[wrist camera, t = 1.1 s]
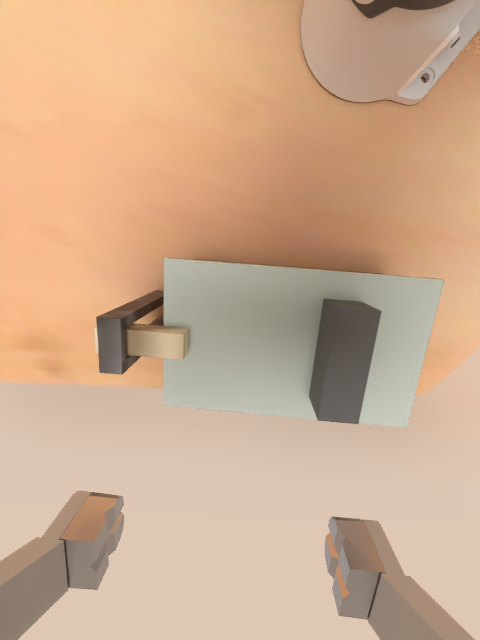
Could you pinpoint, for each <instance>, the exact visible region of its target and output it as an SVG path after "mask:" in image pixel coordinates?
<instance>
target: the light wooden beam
mask: <svg viewBox="0 0 480 640" xmlns="http://www.w3.org/2000/svg"><path fill="white" fill-rule="evenodd" d="M94 334H95V351H96V352H98V335H97V326H95V327H94ZM188 335H189V328H181V327H169V326H157V325H145V324H133V323H132V324H131V325H129V326H127V327H126V346H127V355H133V356H144V357H156V358H168V359H179V360H183V359H184V358H185V356H186V354H187V353H188ZM98 353H99V352H98Z"/></svg>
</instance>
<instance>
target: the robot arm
mask: <svg viewBox="0 0 480 640" xmlns="http://www.w3.org/2000/svg"><path fill="white" fill-rule="evenodd" d="M479 29H480V0H304V4H303V9H302V15H301V41H302V47H303V51H304V55H305V58H306V61H307V63H308V66H309V68H310V70H311V71H312V73H313V75H314V76H315V78H316V79H317V80H318V81H319V83H320V84H321V85H322V86H323V87H324V88H325V89H327V90H328V91H329V92H331V93H332V94H334V95H336V96H337V97H340V98H342V99H345V100H348V101H353V102H372V101H378V100H392V101H395V102H399V103H402V104H406V105H414V104H417V103H418V102H420V101H421V100H422V98H423V97H424V96H425V95H426V94H427V93H428V91H429V90H430V89H431V88H432V87H433V85H434V84H435V83H436V82H437V80H438V79H439V78H440V77H441V76H442V74H443V73H444V72H445V71H446V69H447V68H448V67H449V66H450V65H451V63H452V62H453V61H454V60H455V58H456V57H457V56H458V55H459V54H460V52H461V51H462V50H463V49H464V47H465V46H466V45H467V44H468V43H469V41H470V40H471V39H472V38H473V36H474V35H475V34H476V33H477V32H478V30H479ZM421 77H424V78H425V80H426V82H425V83H424V82H422V80H421ZM123 505H124V503H123V497H122V496H118V495H110V494H102V493H95V492H86V491H77V492H76V493H74V494H73V495H72V497H71V498H70V499H69V501H68V502H67V503H66V505H65V506H64V507H63V509H62V510H61V512H60V513H59V514H58V516H57V517H56V519H55V520H54V521H53V522H52V524H51V525H50V527H49V528H48V529H47V531H46V532H45V533H44V535H43V536H42V537H41V538H35V539H33V540H32V541H30V542H29V543H27V544H26V545H24V546H23V547H21V548H20V549H18V550H17V551H15V552H14V553H12V554H11V555H9V556H8V557H6V558H4V559H3V560H2V561H0V640H18V639H19V638H20V637H21V636H22V635H23V634H24V633H25V632H26V631H27V630H28V629H29V628H30V627H31V626H32V625H33V624H34V623H35V622H36V621H37V620H38V619H39V618H40V617H41V616H42V615H43V614H44V613H45V612H46V611H47V610H48V609H49V608H50V607H51V606H52V605H53V604H54V603H55V602H56V601H58V600H59V599H60V598H61V597H62V596H63V594H64V593H66V592H67V591H68V588H80V589H94V590H97V589H98V587H99V585H100V583H101V580H102V578H103V576H104V574H105V572H106V570H107V567H108V555H110V554H111V553H112V552H113V551H115V550H116V547H117V545H118V543H119V540H120V537H121V534H122V530H123V524H124V515H123V514H122V512H121V509H122V507H123ZM328 526H329V530H330V533H329V534H328V535H327V536H326V540H325V558H326V564H327V569H328V572H329V573H330V575H331V576H332V577H333V578H334V583H333V588H332V590H333V594H334V598H335V602H336V605H337V610H338V614H339V616H345V617H352V618H359V619H367V620H368V622H369V624H370V625H371V626H372V628H373V629H374V631H375V632H376V634H377V635H378V637H379V638H380V640H475V639H473V638H472V636H471V635H469V634H468V633H467V632H466V631H465V630H464V629H463V628H462V627H461V626H460V625H459V624H458V623H457V622H456V621H455V620H454V619H453V618H452V617H451V616H450V615H449V614H448V613H447V612H446V611H445V610H444V609H443V608H442V607H441V606H440V605H439V604H438V603H437V602H435V600H434V599H432V598H431V596H430V595H428V594H427V593H426V591H425V590H423V589H422V588H421V587H420V586H419V585H418V584H417V583H416V582H415V581H414V580H413V579H412V578H411V577H410V576H405V575H404V573H403V570H402V568H401V566H400V564H399V562H398V560H397V558H396V556H395V554H394V552H393V550H392V547H391V545H390V543H389V541H388V539H387V537H386V535H385V533H384V531H383V529H382V527H381V524H379V522H378V521H373V520H361V519H353V518H341V517H331V518H330V520H329V525H328Z"/></svg>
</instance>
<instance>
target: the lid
mask: <svg viewBox="0 0 480 640" xmlns="http://www.w3.org/2000/svg"><path fill="white" fill-rule="evenodd" d="M443 283H444V280H441V279H435V278H422V277H409V276H396V275H384V274H371V273H358V272H345V271H332V270H319V269H307V268H294V267H281V266H268V265H255V264H242V263H230V262H217V261H204V260H191V259H178V258H164V326H169V327H181V328H189V335H188V353H187V354H186V356H185V358H184V359H183V360H179V359H168V358H163V406H173V407H185V408H196V409H206V410H217V411H228V412H239V413H250V414H261V415H272V416H285V417H295V418H305V419H316V420H319V421H330V422H341V423H353V424H359V423H361V424H373V425H383V426H394V427H405V428H406V427H407V424H408V420H409V415H410V412H411V408H412V404H413V400H414V396H415V392H416V389H417V385H418V381H419V377H420V373H421V369H422V365H423V361H424V357H425V354H426V350H427V346H428V342H429V338H430V334H431V330H432V326H433V322H434V318H435V315H436V311H437V307H438V303H439V299H440V295H441V291H442V287H443Z"/></svg>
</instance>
